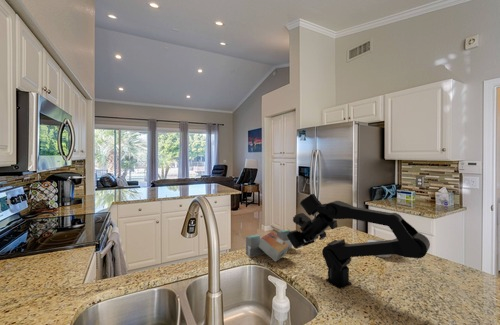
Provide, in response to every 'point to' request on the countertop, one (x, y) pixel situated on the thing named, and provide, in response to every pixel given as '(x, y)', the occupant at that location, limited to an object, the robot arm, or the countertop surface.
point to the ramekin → (378, 240)
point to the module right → (283, 234)
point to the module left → (252, 241)
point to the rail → (258, 251)
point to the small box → (273, 246)
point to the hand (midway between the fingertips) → (296, 246)
